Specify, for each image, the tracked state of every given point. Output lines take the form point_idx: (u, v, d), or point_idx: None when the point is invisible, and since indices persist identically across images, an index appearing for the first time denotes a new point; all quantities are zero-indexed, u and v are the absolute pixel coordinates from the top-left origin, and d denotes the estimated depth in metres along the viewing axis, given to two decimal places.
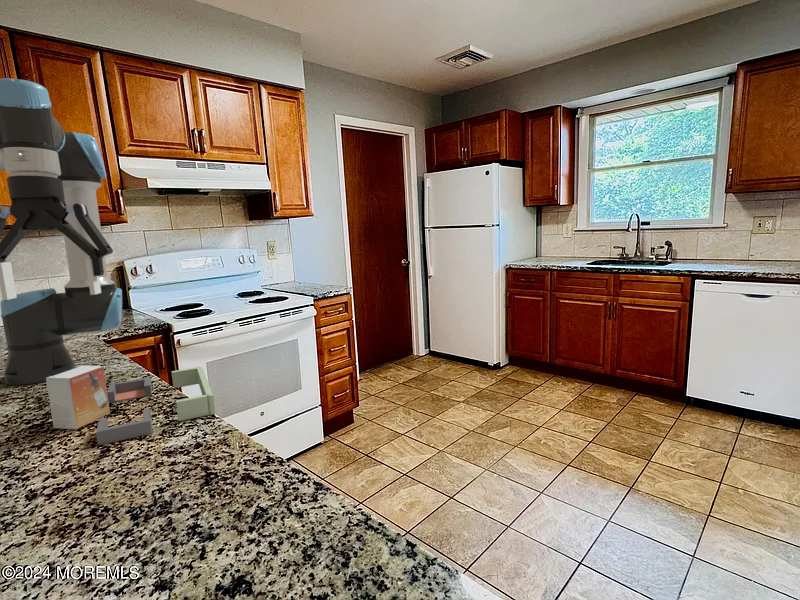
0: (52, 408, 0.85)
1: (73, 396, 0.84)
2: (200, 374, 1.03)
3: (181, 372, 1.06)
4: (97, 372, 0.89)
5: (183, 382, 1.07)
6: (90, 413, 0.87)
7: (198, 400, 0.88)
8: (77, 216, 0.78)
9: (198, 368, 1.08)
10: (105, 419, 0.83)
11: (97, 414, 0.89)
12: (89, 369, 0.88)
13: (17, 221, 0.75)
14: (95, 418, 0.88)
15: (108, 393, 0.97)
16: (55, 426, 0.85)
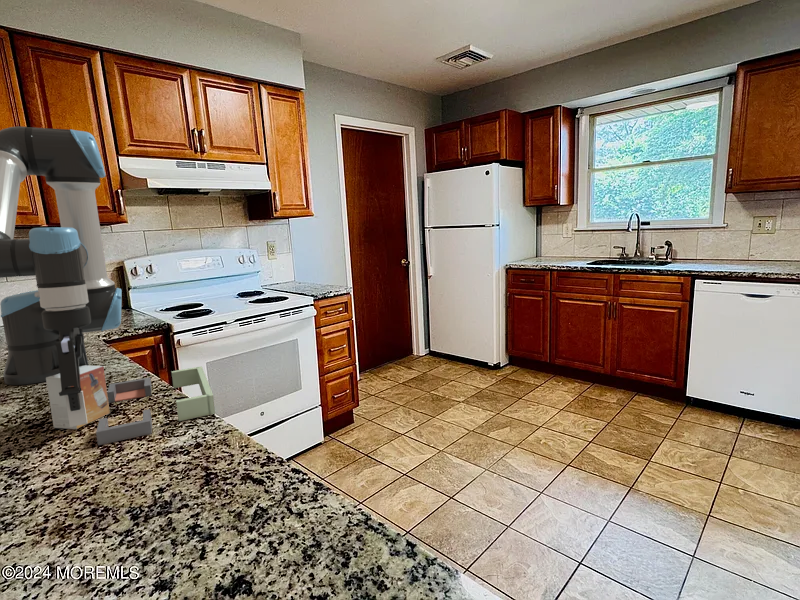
0: (52, 408, 0.85)
1: None
2: (200, 374, 1.03)
3: (181, 372, 1.06)
4: (97, 372, 0.89)
5: (183, 382, 1.07)
6: (90, 413, 0.87)
7: (198, 400, 0.88)
8: None
9: (198, 368, 1.08)
10: (105, 419, 0.83)
11: (97, 414, 0.89)
12: (89, 369, 0.88)
13: None
14: (95, 418, 0.88)
15: (108, 393, 0.97)
16: (55, 426, 0.85)
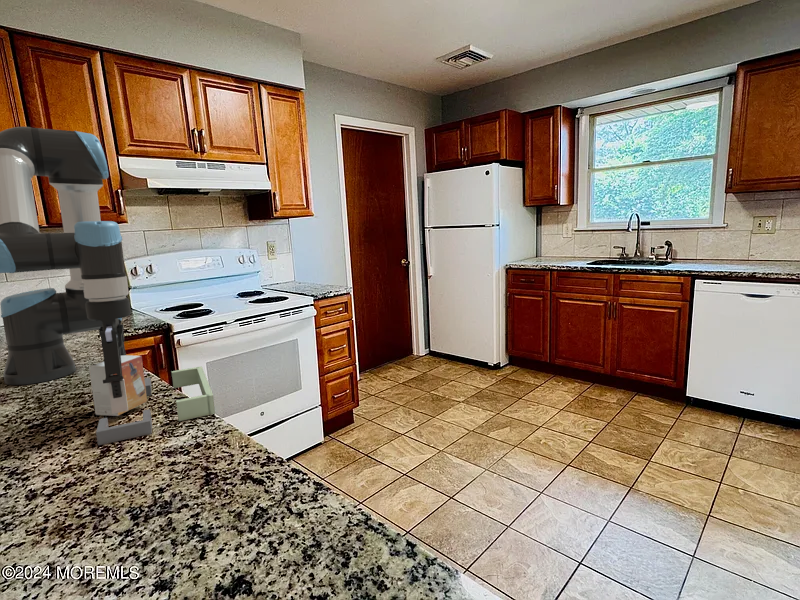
0: (94, 395, 0.88)
1: None
2: (200, 374, 1.03)
3: (181, 372, 1.06)
4: (136, 361, 0.92)
5: (183, 382, 1.07)
6: (130, 401, 0.90)
7: (198, 400, 0.88)
8: None
9: (198, 368, 1.08)
10: (105, 419, 0.83)
11: (136, 402, 0.92)
12: (128, 358, 0.91)
13: None
14: (134, 406, 0.91)
15: None
16: (97, 413, 0.88)
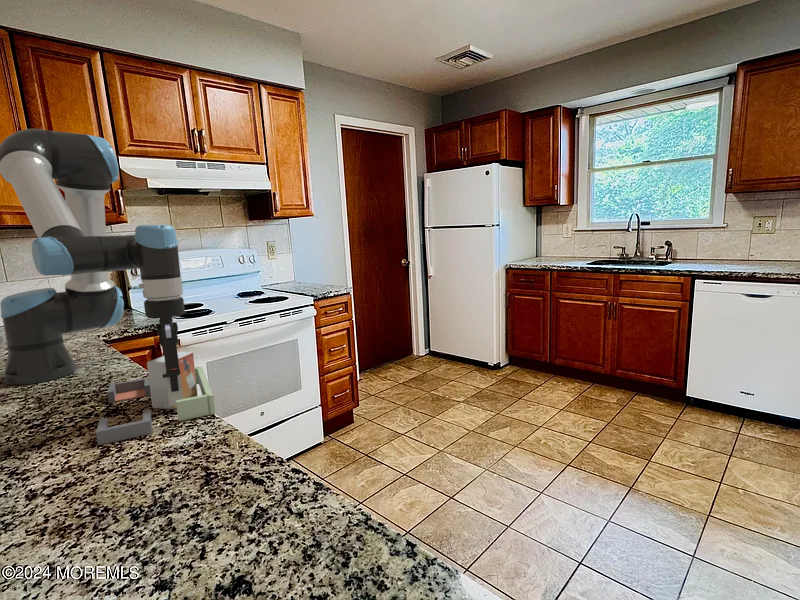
0: (152, 390, 0.93)
1: None
2: (200, 374, 1.03)
3: None
4: (188, 357, 0.97)
5: None
6: (184, 395, 0.96)
7: (198, 400, 0.88)
8: (162, 338, 0.89)
9: (198, 368, 1.08)
10: (105, 419, 0.83)
11: (188, 396, 0.97)
12: (182, 355, 0.96)
13: None
14: None
15: (108, 393, 0.97)
16: (153, 406, 0.94)
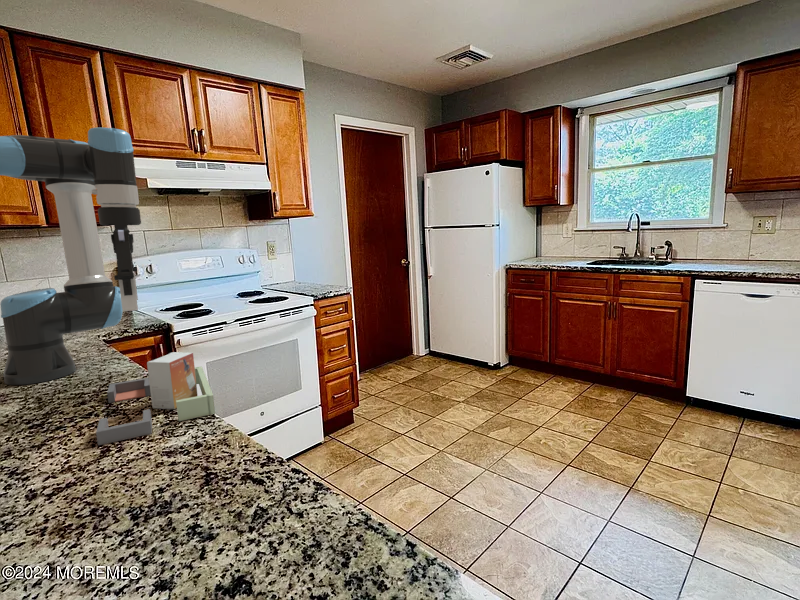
0: (152, 390, 0.93)
1: (171, 379, 0.92)
2: (200, 374, 1.03)
3: None
4: (188, 358, 0.97)
5: None
6: (184, 395, 0.96)
7: (198, 400, 0.88)
8: (115, 241, 0.87)
9: (198, 368, 1.08)
10: (105, 419, 0.83)
11: (188, 396, 0.97)
12: (182, 355, 0.96)
13: None
14: None
15: (108, 393, 0.97)
16: (153, 407, 0.94)
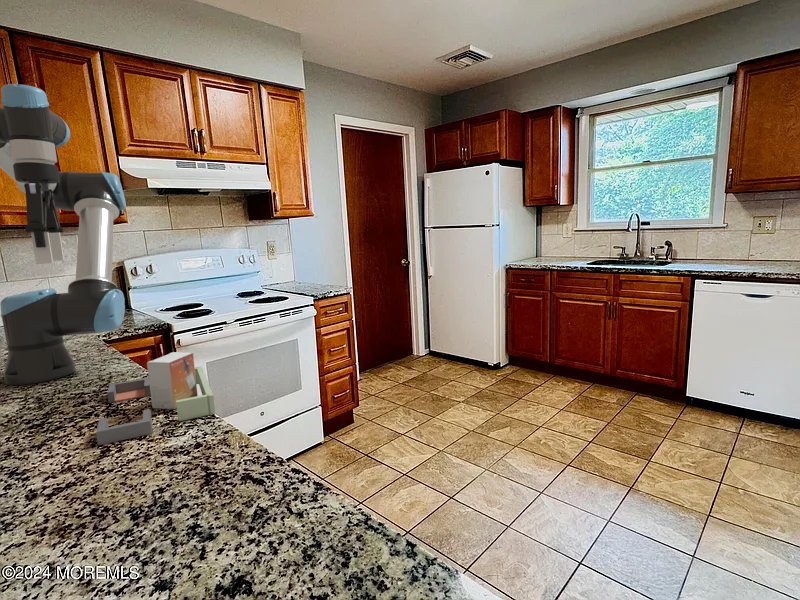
0: (152, 390, 0.93)
1: (171, 379, 0.92)
2: (200, 374, 1.03)
3: None
4: (188, 358, 0.97)
5: None
6: (184, 395, 0.96)
7: (198, 400, 0.88)
8: None
9: (198, 368, 1.08)
10: (105, 419, 0.83)
11: (188, 396, 0.97)
12: (182, 355, 0.96)
13: None
14: None
15: (108, 393, 0.97)
16: (153, 407, 0.94)
